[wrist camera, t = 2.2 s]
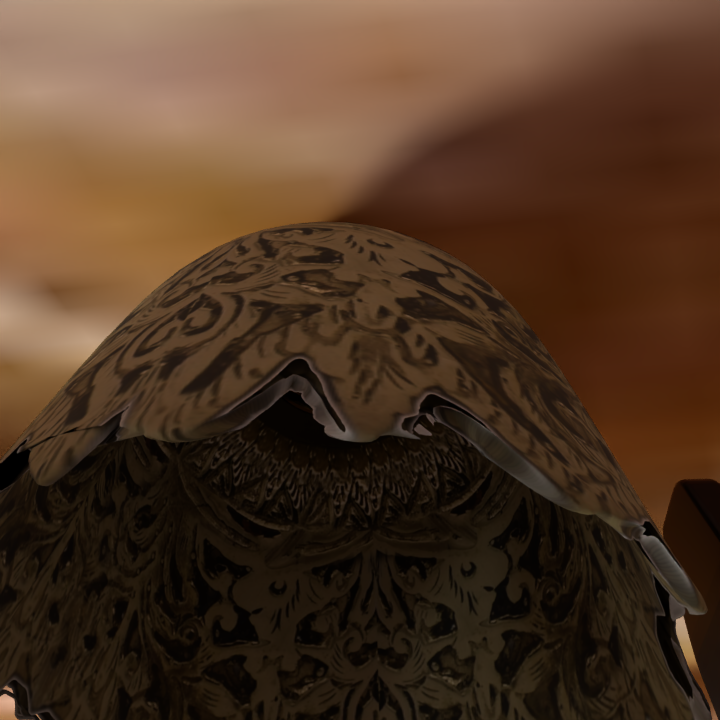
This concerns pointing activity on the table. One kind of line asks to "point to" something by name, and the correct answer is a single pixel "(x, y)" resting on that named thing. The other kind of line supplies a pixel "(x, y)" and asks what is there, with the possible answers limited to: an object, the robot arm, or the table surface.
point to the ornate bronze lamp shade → (331, 509)
